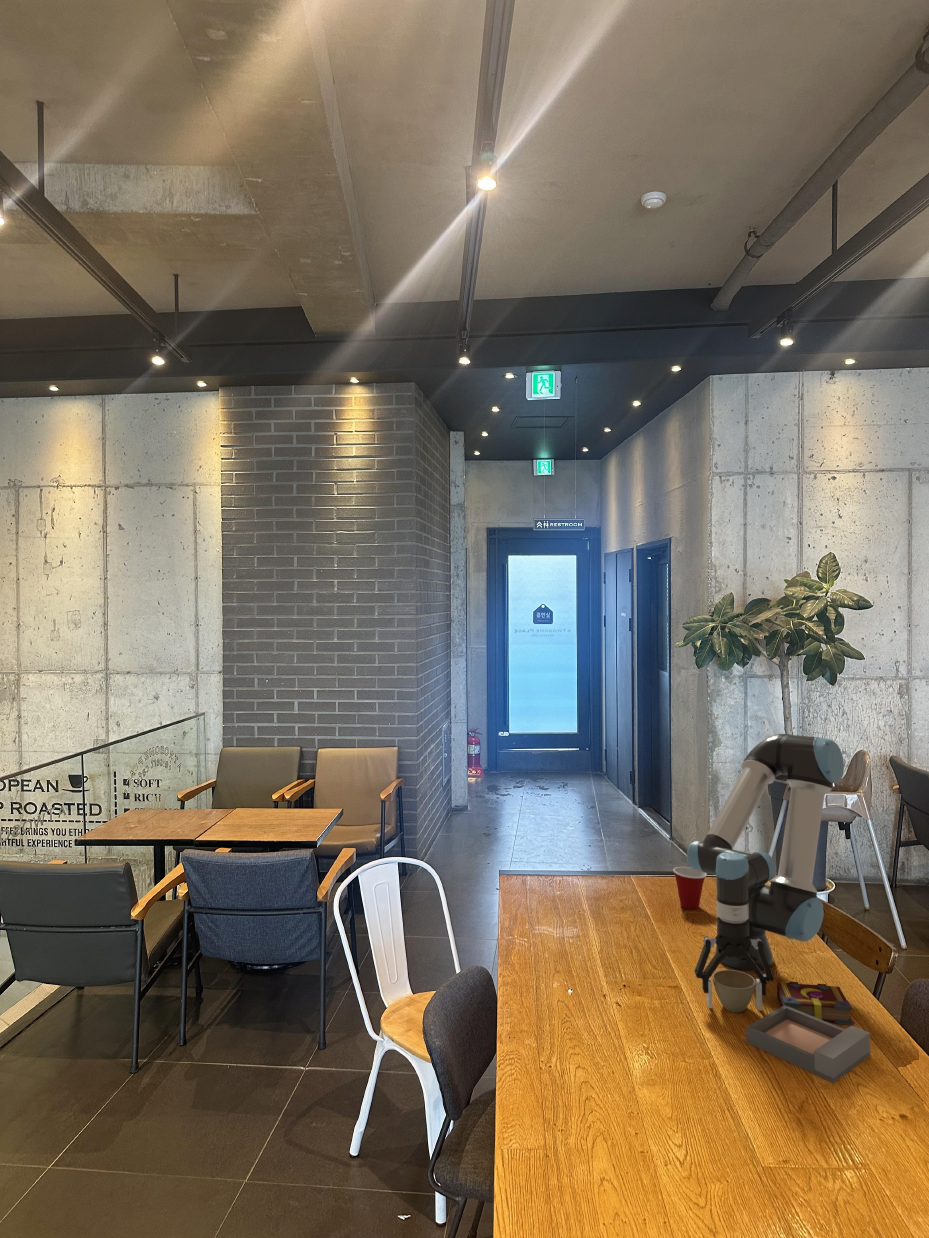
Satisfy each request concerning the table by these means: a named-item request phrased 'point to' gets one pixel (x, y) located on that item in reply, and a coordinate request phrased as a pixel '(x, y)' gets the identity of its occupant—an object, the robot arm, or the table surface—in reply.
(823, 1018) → the decorative book
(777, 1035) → the grey open tray
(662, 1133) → the table surface
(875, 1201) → the table surface
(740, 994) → the flower pot
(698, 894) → the plastic cup
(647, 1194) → the table surface
